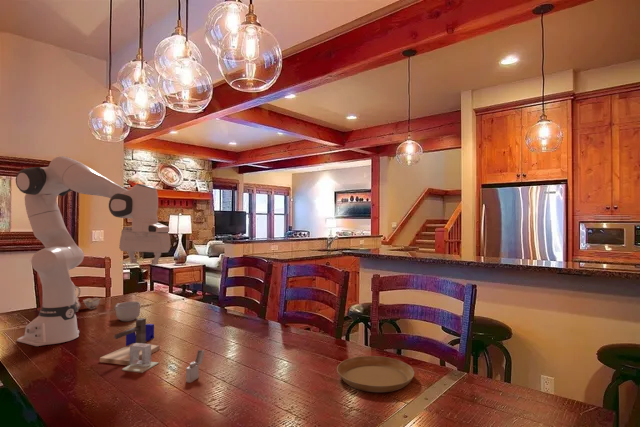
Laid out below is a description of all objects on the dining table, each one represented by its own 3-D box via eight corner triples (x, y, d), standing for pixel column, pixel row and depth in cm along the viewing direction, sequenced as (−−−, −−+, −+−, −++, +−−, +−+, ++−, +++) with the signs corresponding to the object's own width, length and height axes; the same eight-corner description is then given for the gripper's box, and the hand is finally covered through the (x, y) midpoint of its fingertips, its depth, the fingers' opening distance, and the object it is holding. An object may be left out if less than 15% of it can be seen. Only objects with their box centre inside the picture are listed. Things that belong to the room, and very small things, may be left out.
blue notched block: (145, 337, 158) (145, 323, 158) (154, 338, 157) (154, 324, 157) (122, 346, 147) (123, 331, 147) (132, 347, 145) (132, 332, 146)
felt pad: (121, 370, 123) (121, 369, 123) (139, 361, 131) (139, 360, 131) (142, 372, 121) (142, 371, 121) (158, 363, 129) (158, 362, 129)
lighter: (190, 382, 114) (190, 356, 114) (185, 382, 114) (186, 356, 115) (204, 373, 121) (204, 349, 121) (200, 373, 121) (200, 348, 121)
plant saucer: (336, 364, 130) (336, 354, 130) (405, 365, 129) (405, 355, 129) (337, 397, 106) (337, 385, 106) (422, 398, 105) (422, 386, 105)
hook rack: (99, 361, 130) (100, 327, 131) (133, 346, 146) (133, 316, 146) (128, 365, 127) (128, 330, 128) (159, 349, 143) (159, 318, 143)
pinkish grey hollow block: (129, 366, 126) (129, 345, 126) (136, 363, 128) (136, 342, 129) (144, 368, 124) (145, 347, 124) (150, 364, 127) (151, 344, 127)
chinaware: (68, 322, 186) (72, 289, 186) (37, 318, 187) (40, 285, 187) (104, 309, 214) (107, 280, 214) (76, 305, 215) (79, 277, 215)
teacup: (144, 319, 187) (144, 303, 187) (123, 324, 178) (123, 307, 178) (128, 315, 194) (128, 299, 195) (107, 319, 185) (107, 303, 185)
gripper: (115, 226, 140) (114, 263, 140) (162, 227, 135) (161, 266, 135) (128, 226, 146) (127, 261, 146) (173, 227, 141) (172, 264, 141)
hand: (144, 263), depth 140 cm, fingers open, 8 cm apart
